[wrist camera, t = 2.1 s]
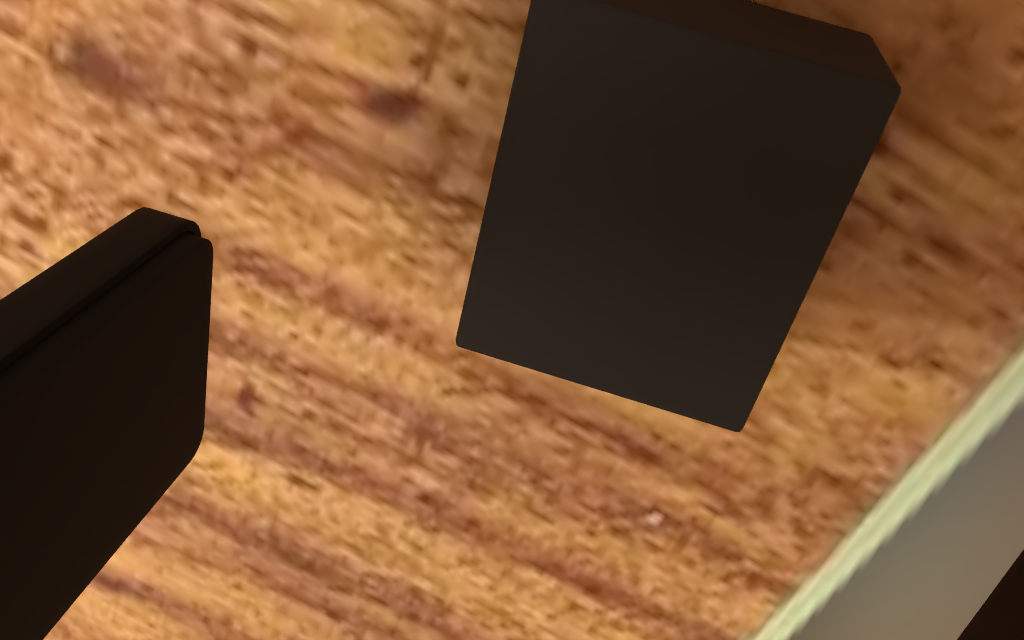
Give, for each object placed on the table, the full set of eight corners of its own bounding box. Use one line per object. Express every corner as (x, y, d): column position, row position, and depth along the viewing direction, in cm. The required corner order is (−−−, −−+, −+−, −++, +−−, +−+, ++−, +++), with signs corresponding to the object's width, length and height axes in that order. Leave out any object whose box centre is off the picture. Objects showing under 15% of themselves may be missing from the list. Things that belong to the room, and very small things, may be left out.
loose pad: (568, -50, 14) (533, -15, 12) (873, 35, 14) (904, 88, 11) (493, 267, 17) (453, 347, 15) (739, 341, 17) (740, 435, 15)
